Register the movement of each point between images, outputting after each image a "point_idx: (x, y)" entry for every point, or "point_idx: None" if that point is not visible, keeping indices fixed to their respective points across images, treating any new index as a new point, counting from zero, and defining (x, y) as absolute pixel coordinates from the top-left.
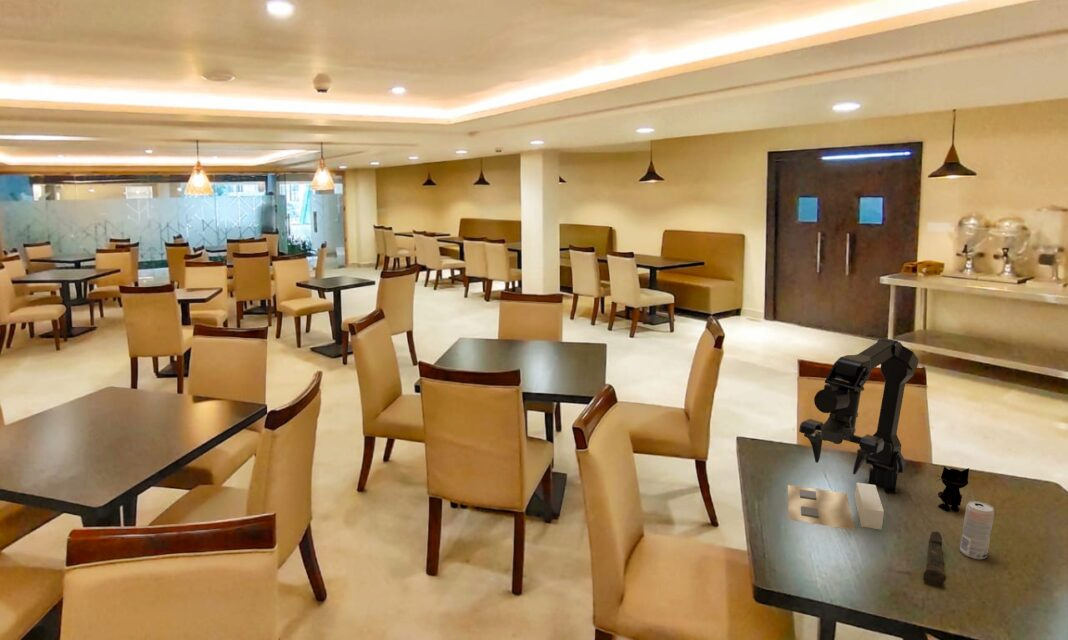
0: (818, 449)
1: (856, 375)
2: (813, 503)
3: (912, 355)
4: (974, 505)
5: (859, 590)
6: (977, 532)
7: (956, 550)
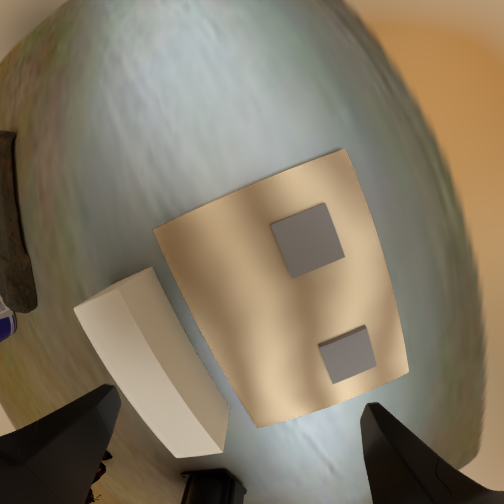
0: (395, 485)
1: None
2: (318, 318)
3: None
4: None
5: (99, 11)
6: None
7: None
